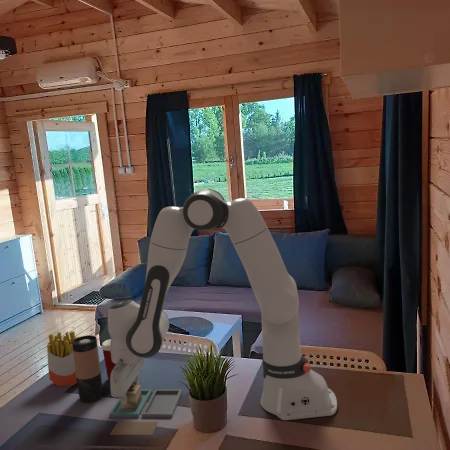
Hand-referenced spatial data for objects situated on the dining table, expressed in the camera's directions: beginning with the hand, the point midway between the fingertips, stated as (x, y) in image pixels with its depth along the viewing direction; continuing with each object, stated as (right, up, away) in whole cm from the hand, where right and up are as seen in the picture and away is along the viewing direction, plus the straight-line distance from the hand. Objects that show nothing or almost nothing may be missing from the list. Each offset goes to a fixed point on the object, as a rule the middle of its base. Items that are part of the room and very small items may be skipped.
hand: (130, 395), depth 137 cm
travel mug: (-14, -4, +6) cm, 16 cm away
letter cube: (0, -3, 0) cm, 3 cm away
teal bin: (0, -3, 0) cm, 3 cm away
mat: (+4, -5, -12) cm, 14 cm away
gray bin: (+10, -3, -1) cm, 11 cm away
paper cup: (-8, -2, +18) cm, 20 cm away
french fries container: (-25, -3, +18) cm, 31 cm away
